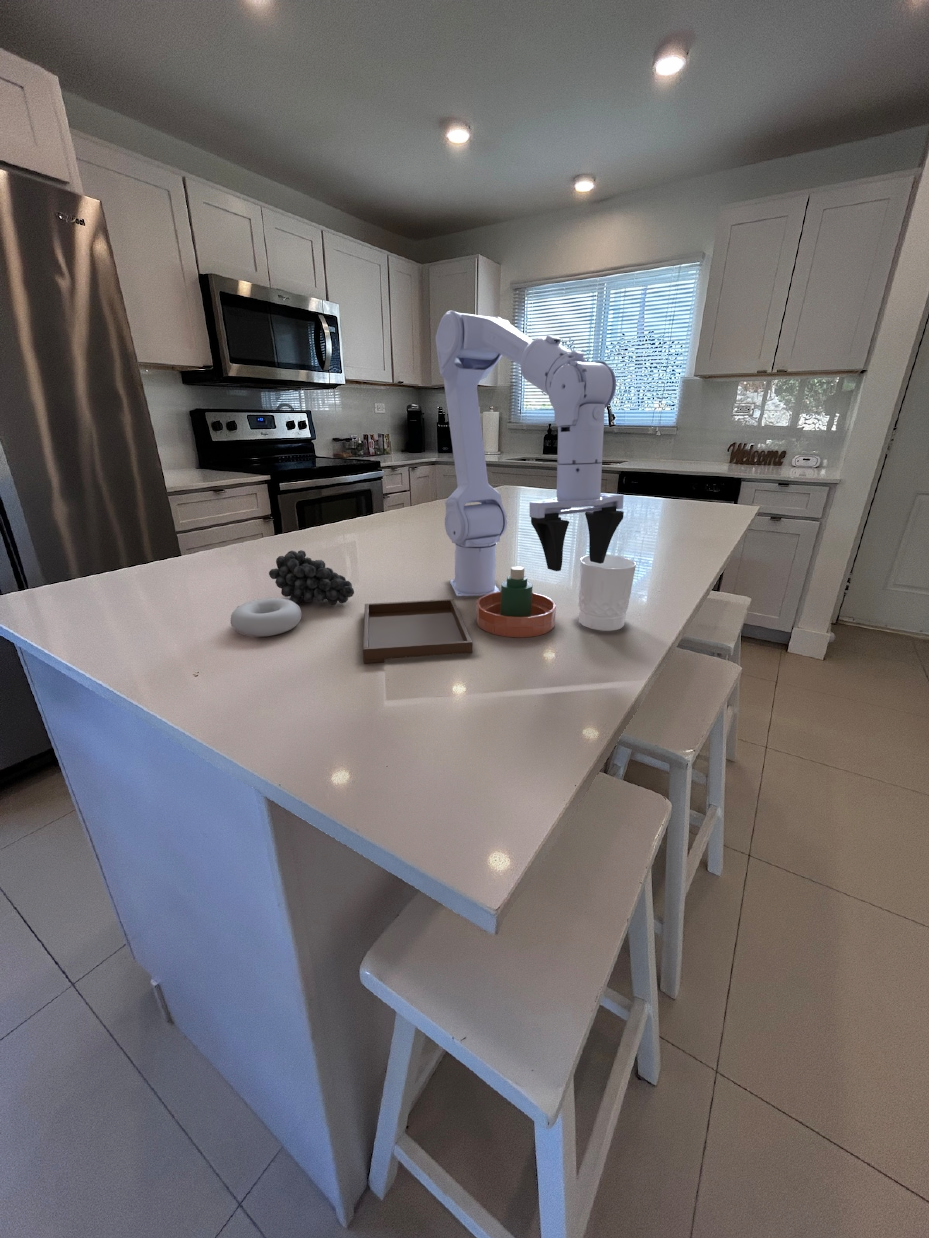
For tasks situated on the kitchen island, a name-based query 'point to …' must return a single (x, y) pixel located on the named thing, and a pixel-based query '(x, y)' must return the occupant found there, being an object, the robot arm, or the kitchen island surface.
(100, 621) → the kitchen island surface
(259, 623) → the donut
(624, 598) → the white cup
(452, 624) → the tray
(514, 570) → the bottle
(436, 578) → the kitchen island surface
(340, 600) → the fruit
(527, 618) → the bowl
